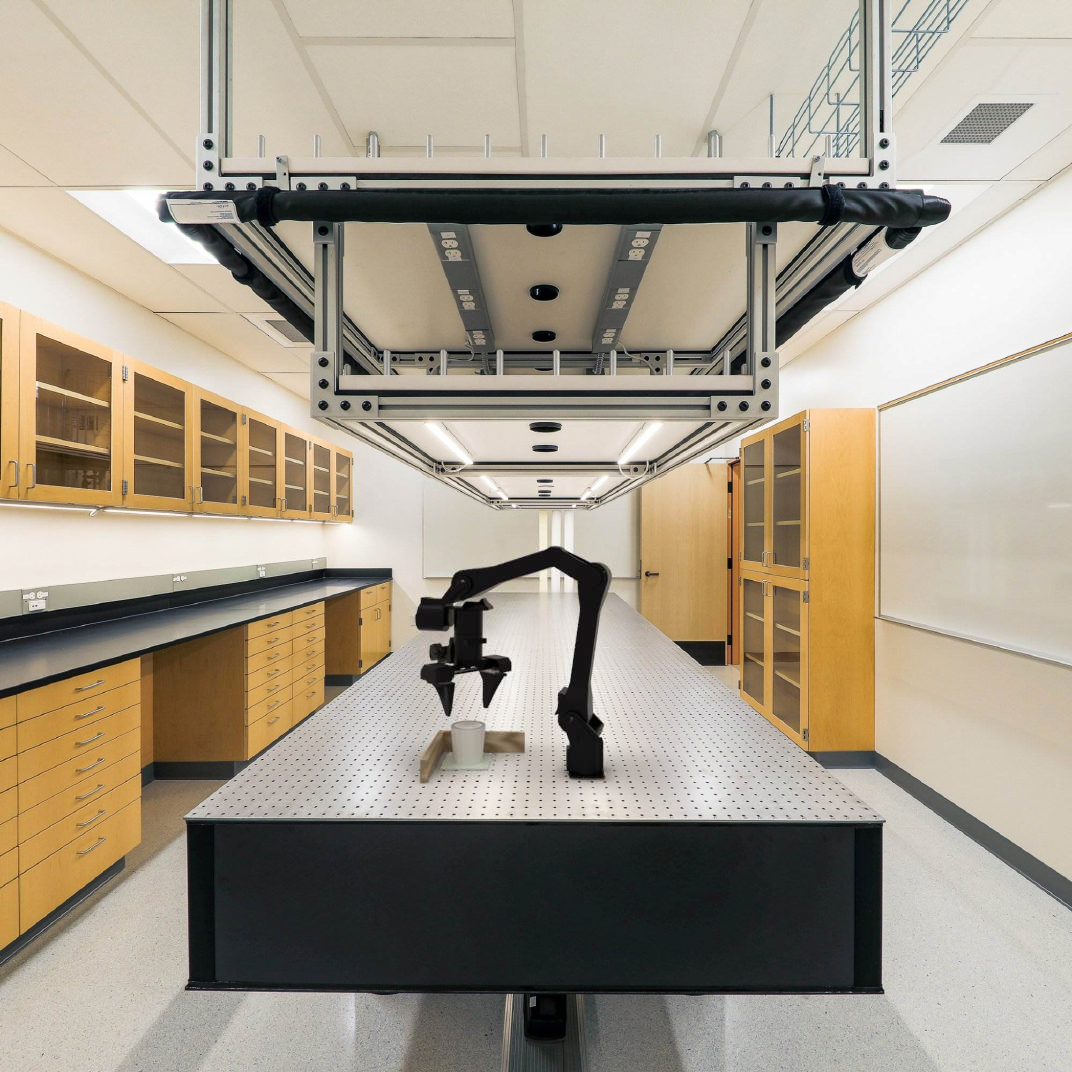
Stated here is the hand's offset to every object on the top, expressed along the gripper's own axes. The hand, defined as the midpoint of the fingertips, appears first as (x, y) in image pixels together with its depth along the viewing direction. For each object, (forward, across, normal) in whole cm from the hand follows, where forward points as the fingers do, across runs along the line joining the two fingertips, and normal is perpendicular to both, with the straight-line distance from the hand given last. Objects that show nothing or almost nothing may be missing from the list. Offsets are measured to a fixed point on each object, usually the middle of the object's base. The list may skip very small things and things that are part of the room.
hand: (467, 712), depth 117 cm
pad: (+10, 0, 0) cm, 10 cm away
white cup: (+10, 0, 0) cm, 10 cm away
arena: (+10, 0, +3) cm, 10 cm away
